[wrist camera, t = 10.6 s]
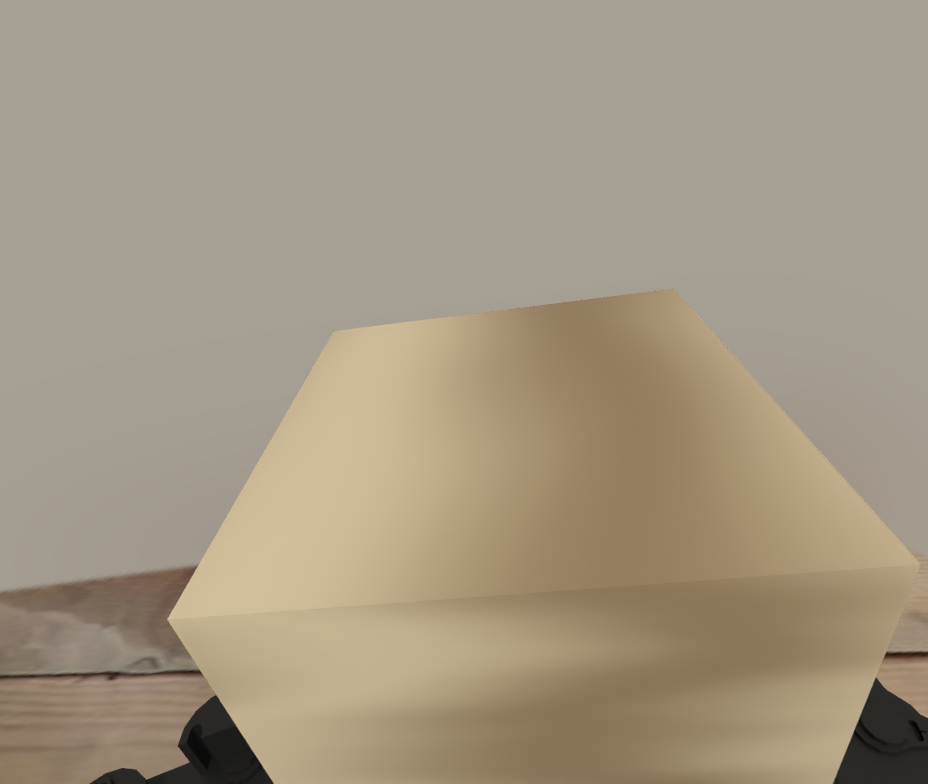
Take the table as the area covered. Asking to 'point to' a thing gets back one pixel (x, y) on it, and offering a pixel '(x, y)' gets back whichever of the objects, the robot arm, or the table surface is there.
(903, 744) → the robot arm
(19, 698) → the table surface
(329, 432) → the beech block
